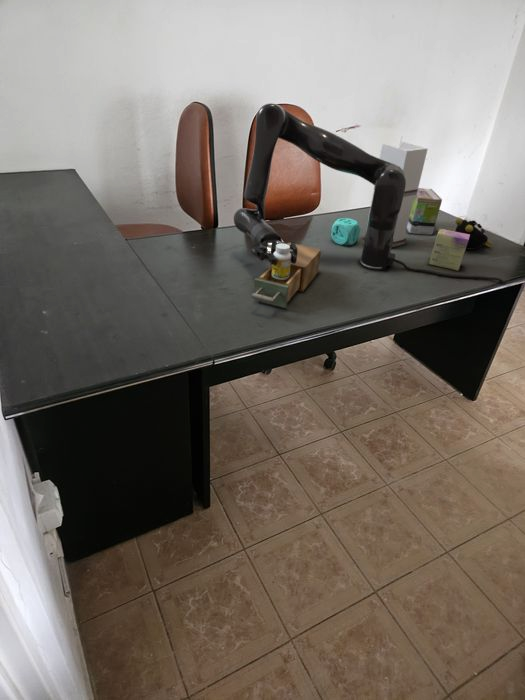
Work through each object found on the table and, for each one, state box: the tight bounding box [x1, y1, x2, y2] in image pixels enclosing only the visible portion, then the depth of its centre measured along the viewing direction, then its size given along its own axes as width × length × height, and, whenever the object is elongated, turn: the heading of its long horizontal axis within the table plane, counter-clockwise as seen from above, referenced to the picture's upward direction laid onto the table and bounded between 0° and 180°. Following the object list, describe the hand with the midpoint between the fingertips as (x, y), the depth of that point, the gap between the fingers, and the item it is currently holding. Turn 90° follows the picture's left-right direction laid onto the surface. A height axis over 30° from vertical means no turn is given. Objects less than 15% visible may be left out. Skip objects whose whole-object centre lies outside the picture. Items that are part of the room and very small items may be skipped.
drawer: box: [251, 266, 302, 309], centre depth 140 cm, size 20×10×7 cm, turn 156°
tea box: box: [406, 187, 443, 235], centre depth 195 cm, size 15×10×15 cm, turn 179°
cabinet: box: [269, 242, 322, 293], centre depth 153 cm, size 15×11×8 cm
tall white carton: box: [364, 141, 428, 248], centre depth 176 cm, size 11×11×35 cm
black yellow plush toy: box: [454, 217, 493, 250], centre depth 181 cm, size 12×15×15 cm
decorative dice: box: [330, 217, 361, 246], centre depth 181 cm, size 8×8×8 cm
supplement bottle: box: [272, 243, 291, 280], centre depth 139 cm, size 5×5×10 cm
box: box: [428, 228, 470, 272], centre depth 167 cm, size 10×6×12 cm, turn 65°
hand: (285, 261), depth 136 cm, fingers closed on supplement bottle, 5 cm apart
